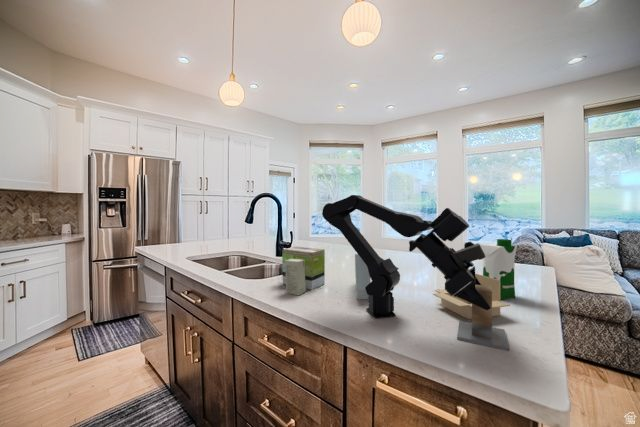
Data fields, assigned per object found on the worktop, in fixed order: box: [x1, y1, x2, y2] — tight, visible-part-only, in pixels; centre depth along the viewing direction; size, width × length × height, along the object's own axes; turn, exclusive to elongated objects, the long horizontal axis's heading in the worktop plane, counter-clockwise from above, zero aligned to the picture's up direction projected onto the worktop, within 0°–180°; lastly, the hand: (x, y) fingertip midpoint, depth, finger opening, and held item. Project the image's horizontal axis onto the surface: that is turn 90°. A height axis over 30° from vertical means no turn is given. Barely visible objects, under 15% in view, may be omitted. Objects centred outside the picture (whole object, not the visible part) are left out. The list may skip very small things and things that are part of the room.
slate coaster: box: [456, 320, 510, 351], centre depth 64 cm, size 10×10×1 cm
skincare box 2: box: [354, 250, 372, 301], centre depth 100 cm, size 21×5×16 cm, turn 172°
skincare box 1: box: [285, 259, 307, 296], centre depth 98 cm, size 6×4×12 cm
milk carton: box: [479, 238, 518, 301], centre depth 93 cm, size 9×9×20 cm
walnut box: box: [471, 284, 493, 339], centre depth 64 cm, size 4×5×11 cm
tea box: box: [281, 246, 326, 291], centre depth 109 cm, size 15×10×15 cm, turn 58°
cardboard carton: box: [432, 272, 511, 320], centre depth 80 cm, size 14×17×10 cm
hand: (488, 302), depth 63 cm, fingers open, 9 cm apart
